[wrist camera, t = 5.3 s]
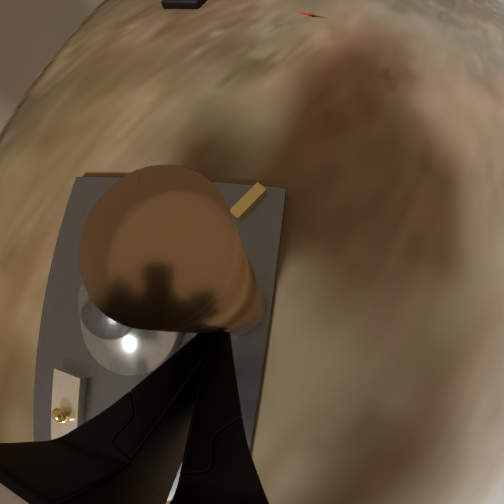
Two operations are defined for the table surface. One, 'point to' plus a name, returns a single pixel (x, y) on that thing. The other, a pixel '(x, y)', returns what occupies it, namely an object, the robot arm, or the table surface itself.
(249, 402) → the stand plate
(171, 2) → the multimeter
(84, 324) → the brown cylinder with ball
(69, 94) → the table surface
